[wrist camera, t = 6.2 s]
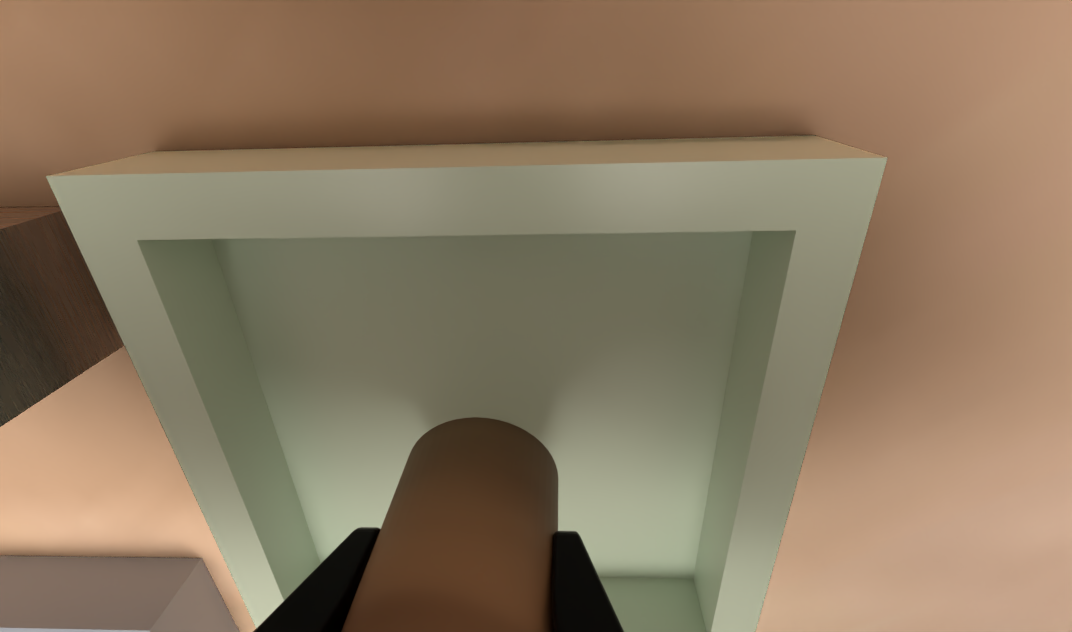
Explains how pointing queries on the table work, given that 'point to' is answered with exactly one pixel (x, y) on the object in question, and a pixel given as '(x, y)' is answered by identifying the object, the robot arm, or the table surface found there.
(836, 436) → the table surface
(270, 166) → the tray
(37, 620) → the board
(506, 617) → the dowel
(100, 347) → the dark gray block
